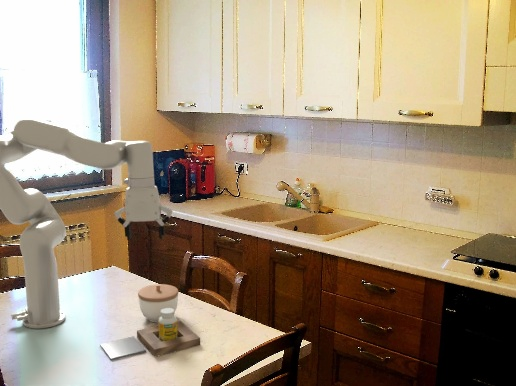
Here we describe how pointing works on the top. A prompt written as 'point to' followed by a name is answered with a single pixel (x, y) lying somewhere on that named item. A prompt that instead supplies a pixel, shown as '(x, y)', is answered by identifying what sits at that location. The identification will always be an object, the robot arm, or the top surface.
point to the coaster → (122, 348)
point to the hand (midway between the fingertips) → (145, 238)
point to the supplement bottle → (167, 325)
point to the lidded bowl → (157, 300)
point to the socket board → (158, 348)
